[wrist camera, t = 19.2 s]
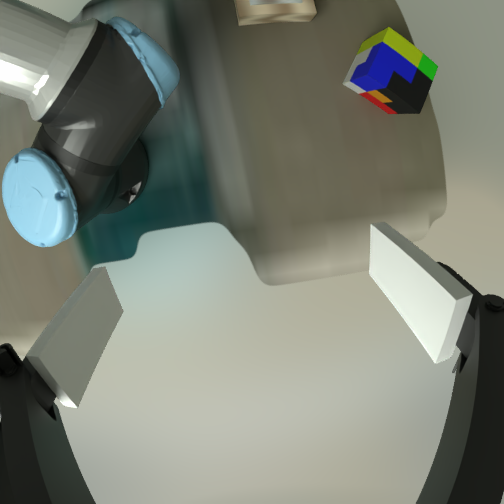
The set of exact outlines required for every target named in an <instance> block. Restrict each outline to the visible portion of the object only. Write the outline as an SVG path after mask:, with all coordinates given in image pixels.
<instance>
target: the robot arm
mask: <svg viewBox="0 0 504 504" xmlns="http://www.w3.org/2000/svg"><path fill="white" fill-rule="evenodd" d="M179 80H180V73H179V69H178V67H177V65H176V63H175V62H174V61H173V59H172V58H171V57H170V56H169V55H168V54H167V53H166V51H165V50H164V49H163V48H162V47H161V46H160V45H158V44H157V43H156V42H155V41H154V40H153V39H152V38H151V37H149V36H148V35H147V34H146V33H144V32H141V30H140V29H138V28H137V27H136V26H135V25H134V24H132V23H131V22H129V21H128V20H126V19H124V18H121V17H113V18H112V19H111V20H108V21H107V22H106V24H104V23H102V22H100V21H98V20H97V19H95V18H92V19H88V20H85V21H81V22H78V23H69V22H67V21H65V20H62V19H60V18H59V17H56V16H54V15H52V14H50V13H48V12H45V11H43V10H41V9H39V8H36V7H34V6H32V5H29V4H27V3H24V2H22V1H19V0H0V93H2V94H6V95H9V96H12V97H15V98H18V99H21V100H24V101H25V102H26V103H27V105H28V108H29V111H30V114H31V117H32V119H33V120H35V121H38V122H41V123H42V125H41V127H40V129H39V131H38V133H37V135H36V138H35V140H34V142H33V144H32V146H31V148H25V149H23V150H21V151H20V152H19V153H18V154H16V155H15V156H13V157H12V159H11V160H10V161H9V163H8V165H7V167H6V169H5V172H4V176H3V182H2V195H3V202H4V206H5V208H6V210H7V215H8V217H9V219H10V221H11V223H12V225H13V226H14V228H15V229H16V231H17V232H18V233H19V234H20V235H21V236H22V237H23V238H24V239H26V240H27V241H28V242H30V243H32V244H34V245H36V246H40V247H48V246H50V247H51V246H54V245H57V244H58V243H60V242H62V241H64V240H66V239H68V238H70V237H71V236H72V235H73V233H75V232H76V231H77V230H79V229H80V228H81V227H82V226H84V225H85V224H86V223H88V222H89V221H90V220H92V219H93V218H94V217H96V216H97V215H98V214H109V213H115V212H118V211H121V210H123V209H124V208H126V207H128V206H129V205H130V204H132V203H133V202H134V201H135V200H136V199H137V198H138V197H139V195H140V194H141V192H142V191H143V189H144V187H145V184H146V181H147V177H148V159H147V155H146V152H145V149H144V147H143V145H142V144H141V142H140V141H139V139H138V138H139V136H140V135H141V133H142V132H143V130H144V129H145V128H146V126H147V125H148V123H149V122H150V121H151V119H152V118H153V117H154V115H155V114H156V113H157V111H158V110H159V109H162V108H163V107H164V105H165V101H166V100H167V98H168V97H169V96H170V94H171V93H172V92H173V90H174V89H175V88H176V86H177V85H178V83H179ZM369 271H370V272H369V275H370V276H371V277H372V278H373V280H374V281H375V282H376V283H377V285H378V286H379V287H380V288H381V290H382V291H383V292H384V294H385V295H386V296H387V297H388V299H389V300H390V301H391V303H392V304H393V305H394V307H395V308H396V309H397V311H398V312H399V313H400V315H401V316H402V317H403V319H404V320H405V321H406V323H407V324H408V326H409V327H410V328H411V330H412V331H413V333H414V334H415V335H416V337H417V338H418V340H419V341H420V342H421V344H422V345H423V347H424V348H425V350H426V351H427V353H428V354H429V356H430V357H431V358H432V360H433V361H434V363H435V364H437V363H439V362H442V361H444V360H446V359H449V358H451V356H452V354H453V351H454V349H455V346H456V345H457V347H458V348H459V349H460V351H461V353H460V355H459V357H458V360H457V362H456V364H455V366H454V369H453V371H452V373H454V372H455V371H456V376H455V382H454V387H453V392H452V397H451V402H450V406H449V411H448V415H447V419H446V423H445V426H444V430H443V433H442V437H441V440H440V444H439V446H438V449H437V452H436V455H435V458H434V461H433V464H432V467H431V470H430V472H429V475H428V477H427V480H426V482H425V484H424V487H423V489H422V491H421V494H420V496H419V498H418V500H417V502H416V504H500V503H501V499H502V495H503V492H504V299H503V298H501V297H499V296H496V295H490V294H487V295H484V296H483V295H481V294H480V293H479V292H478V291H477V290H476V289H475V288H474V287H473V286H471V285H470V284H469V283H468V282H467V281H466V280H464V279H463V278H462V277H461V276H460V275H459V274H457V273H456V272H455V271H454V270H453V269H452V268H450V267H449V266H447V265H445V264H443V263H441V262H435V261H434V260H433V259H432V258H431V257H429V256H428V255H427V254H426V253H424V252H423V251H422V250H420V249H419V248H418V247H417V246H416V245H414V244H413V243H412V242H411V241H409V240H408V239H407V238H405V237H404V236H403V235H401V234H400V233H399V232H397V231H396V230H395V229H393V228H392V227H391V226H389V225H388V224H387V223H385V222H380V223H373V224H371V242H370V269H369ZM122 313H123V309H122V307H121V304H120V302H119V300H118V298H117V295H116V293H115V290H114V288H113V285H112V283H111V281H110V278H109V275H108V273H107V270H106V268H105V267H100V268H94V269H93V270H92V271H91V272H90V273H89V274H88V275H87V277H86V278H85V279H84V280H83V281H82V282H81V284H80V285H79V286H78V287H77V288H76V290H75V291H74V292H73V293H72V294H71V296H70V297H69V298H68V299H67V301H66V302H65V303H64V304H63V306H62V307H61V308H60V309H59V311H58V312H57V313H56V315H55V316H54V317H53V319H52V320H51V321H50V323H49V324H48V325H47V327H46V328H45V329H44V331H43V332H42V333H41V335H40V336H39V338H38V339H37V340H36V342H35V343H34V345H33V346H32V347H31V349H30V350H29V352H28V353H27V355H26V356H25V358H24V360H23V361H21V359H20V358H19V356H18V355H17V353H16V352H15V350H14V349H13V347H12V346H11V344H9V343H5V344H2V345H0V418H1V422H0V504H96V503H95V501H94V499H93V497H92V495H91V493H90V491H89V489H88V487H87V485H86V483H85V481H84V478H83V476H82V474H81V472H80V469H79V467H78V464H77V462H76V460H75V457H74V455H73V452H72V449H71V446H70V444H69V441H68V439H67V435H66V432H65V429H64V426H63V423H62V420H61V416H60V413H59V409H58V407H57V405H56V404H55V403H54V400H55V398H56V397H57V398H58V399H59V400H60V401H61V403H62V404H63V405H64V406H68V407H74V408H78V406H79V404H80V401H81V399H82V396H83V394H84V392H85V390H86V388H87V385H88V383H89V381H90V379H91V376H92V374H93V372H94V369H95V368H96V365H97V363H98V361H99V359H100V357H101V355H102V353H103V350H104V349H105V347H106V345H107V342H108V340H109V339H110V337H111V334H112V332H113V331H114V329H115V327H116V325H117V323H118V321H119V319H120V317H121V315H122ZM456 369H457V370H456Z"/></svg>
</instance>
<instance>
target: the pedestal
mask: <svg viewBox="0 0 504 504" xmlns="http://www.w3.org/2000/svg"><path fill="white" fill-rule="evenodd" d="M234 3H235V8H236V13H237V18H238V24H239V26H242V25H251V24H261V23H275V22H311V20H312V19H313V18H314V16H315V15H316V14H317V12H316V8H315V4H314V0H234Z"/></svg>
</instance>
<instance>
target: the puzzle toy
mask: <svg viewBox="0 0 504 504" xmlns="http://www.w3.org/2000/svg"><path fill="white" fill-rule="evenodd" d="M437 68H438V66H437V65H436V64H435V63H434V62H433V61H432V60H430V59H429V58H428V57H427V56H426V55H425V54H423V53H422V52H421V51H420V50H419V49H417V48H416V47H415V46H414V45H412V44H411V43H410V42H409V41H407V40H406V39H405V38H403V37H402V36H401V35H399V34H398V33H397V32H395V31H394V30H393V29H391V28H390V27H388V28H386V29H384V30H383V31H381V32H379V33H377V34H376V35H374V36H372V37H370V38H369V39H367V40H365V41H364V42H363V43H362V45H361V47H360V49H359V51H358V53H357V55H356V57H355V59H354V61H353V63H352V65H351V67H350V69H349V71H348V73H347V76H346V78H345V80H344V82H343V84H344V85H345V86H347V87H349V88H350V89H352V90H354V91H355V92H357V93H358V94H360V95H361V96H363V97H365V98H366V99H368V100H369V101H371V102H372V103H374V104H375V105H377V106H378V107H380V108H381V109H382V110H384V111H385V112H387V113H388V114H420V112H421V109H422V107H423V105H424V102H425V100H426V97H427V95H428V92H429V89H430V87H431V84H432V82H433V79H434V76H435V73H436V71H437Z"/></svg>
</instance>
